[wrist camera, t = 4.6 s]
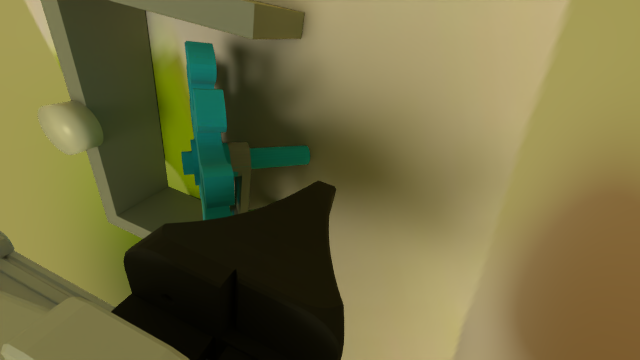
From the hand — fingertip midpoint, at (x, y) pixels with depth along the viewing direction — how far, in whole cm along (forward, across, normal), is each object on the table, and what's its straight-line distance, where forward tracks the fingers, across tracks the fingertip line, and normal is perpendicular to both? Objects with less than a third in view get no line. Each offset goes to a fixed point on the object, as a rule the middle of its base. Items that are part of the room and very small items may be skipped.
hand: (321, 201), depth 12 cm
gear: (+3, +5, 0) cm, 6 cm away
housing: (+3, +8, 0) cm, 9 cm away
